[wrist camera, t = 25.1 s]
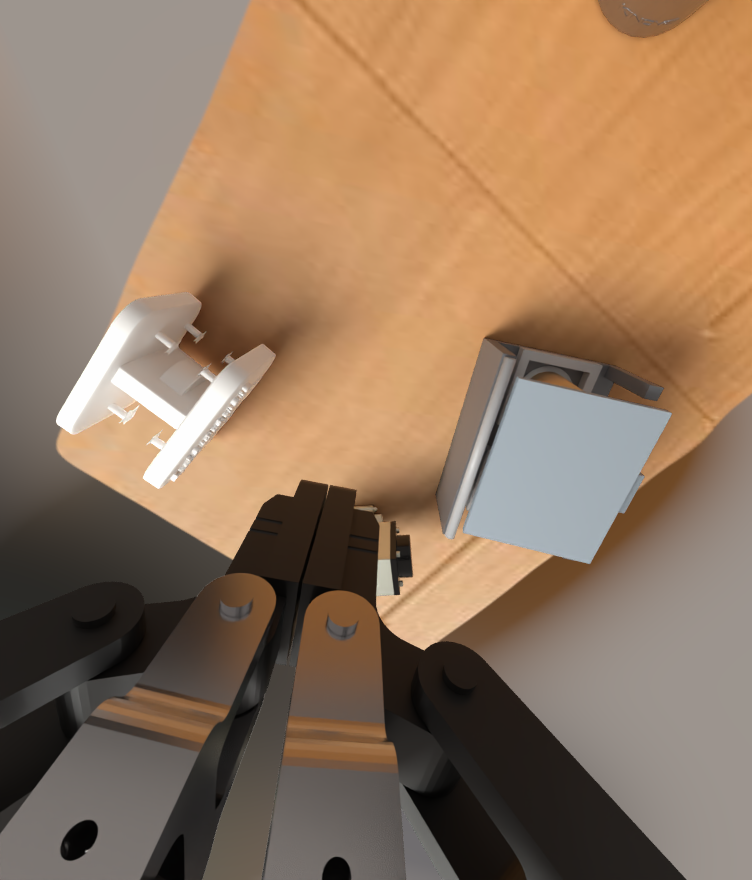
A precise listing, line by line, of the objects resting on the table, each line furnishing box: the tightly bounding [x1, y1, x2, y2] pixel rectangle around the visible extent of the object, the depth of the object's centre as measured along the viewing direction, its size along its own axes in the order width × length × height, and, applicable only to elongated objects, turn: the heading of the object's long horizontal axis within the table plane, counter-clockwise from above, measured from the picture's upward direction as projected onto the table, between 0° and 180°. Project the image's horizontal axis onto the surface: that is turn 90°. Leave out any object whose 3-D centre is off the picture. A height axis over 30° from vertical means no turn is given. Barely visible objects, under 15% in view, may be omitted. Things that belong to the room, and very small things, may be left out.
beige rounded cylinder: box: [530, 372, 583, 391], centre depth 38 cm, size 5×5×6 cm
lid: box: [463, 376, 672, 564], centre depth 36 cm, size 16×13×1 cm
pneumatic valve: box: [354, 505, 413, 596], centre depth 44 cm, size 6×12×12 cm, turn 96°
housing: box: [436, 338, 664, 560], centre depth 40 cm, size 19×14×8 cm
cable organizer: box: [56, 292, 276, 489], centre depth 37 cm, size 15×11×12 cm
